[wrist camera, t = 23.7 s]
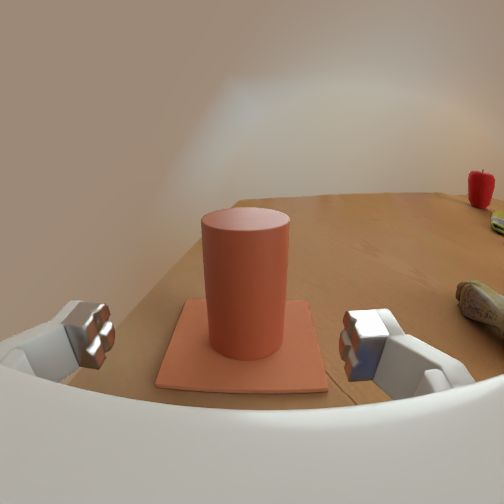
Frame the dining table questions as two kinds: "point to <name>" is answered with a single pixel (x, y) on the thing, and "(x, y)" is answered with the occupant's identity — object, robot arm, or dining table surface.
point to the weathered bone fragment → (481, 304)
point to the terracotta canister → (245, 280)
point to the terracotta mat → (238, 371)
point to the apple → (480, 188)
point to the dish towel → (498, 221)
